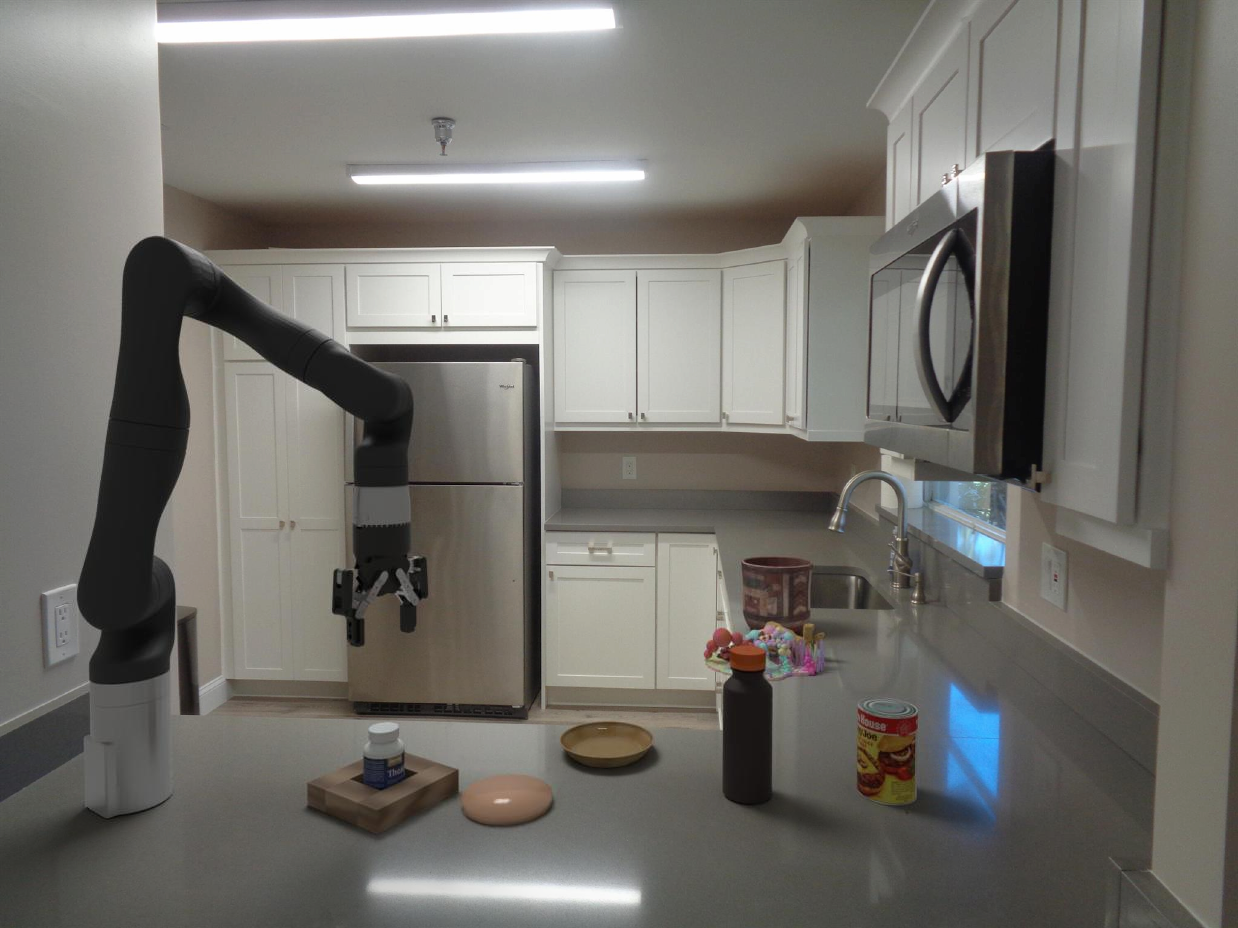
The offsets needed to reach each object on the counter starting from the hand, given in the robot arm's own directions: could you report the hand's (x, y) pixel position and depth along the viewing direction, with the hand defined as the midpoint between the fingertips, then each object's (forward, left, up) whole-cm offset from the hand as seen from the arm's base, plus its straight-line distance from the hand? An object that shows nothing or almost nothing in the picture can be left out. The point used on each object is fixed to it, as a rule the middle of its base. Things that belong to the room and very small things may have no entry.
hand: (382, 638), depth 104 cm
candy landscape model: (+87, -20, -22) cm, 92 cm away
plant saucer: (+29, -17, -22) cm, 40 cm away
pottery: (+115, -11, -22) cm, 117 cm away
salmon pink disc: (+8, -15, -22) cm, 28 cm away
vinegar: (+28, -41, -22) cm, 54 cm away
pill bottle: (0, 0, -22) cm, 22 cm away
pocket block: (0, 0, -22) cm, 22 cm away
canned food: (+39, -57, -22) cm, 73 cm away
